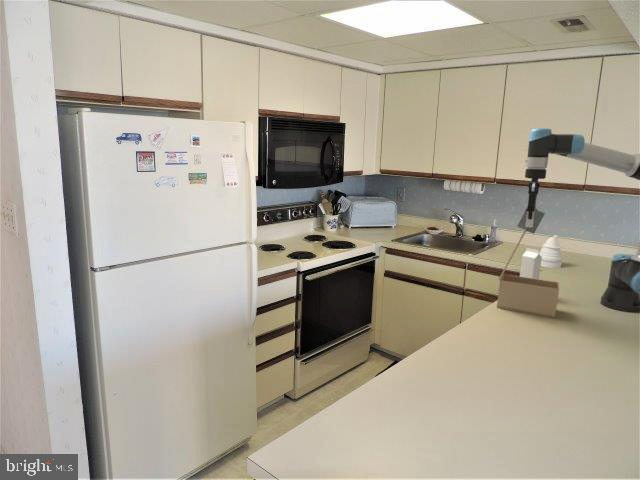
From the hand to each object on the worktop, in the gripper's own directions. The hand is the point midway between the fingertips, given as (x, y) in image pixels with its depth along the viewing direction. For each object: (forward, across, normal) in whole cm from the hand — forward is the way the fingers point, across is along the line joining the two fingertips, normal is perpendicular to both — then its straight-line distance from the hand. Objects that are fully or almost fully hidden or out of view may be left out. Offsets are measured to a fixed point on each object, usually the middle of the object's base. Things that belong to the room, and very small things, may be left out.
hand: (529, 226), depth 184 cm
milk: (+35, -19, +2) cm, 40 cm away
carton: (+35, 0, +3) cm, 35 cm away
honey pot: (+35, -89, +9) cm, 96 cm away
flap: (+9, 0, 0) cm, 9 cm away
